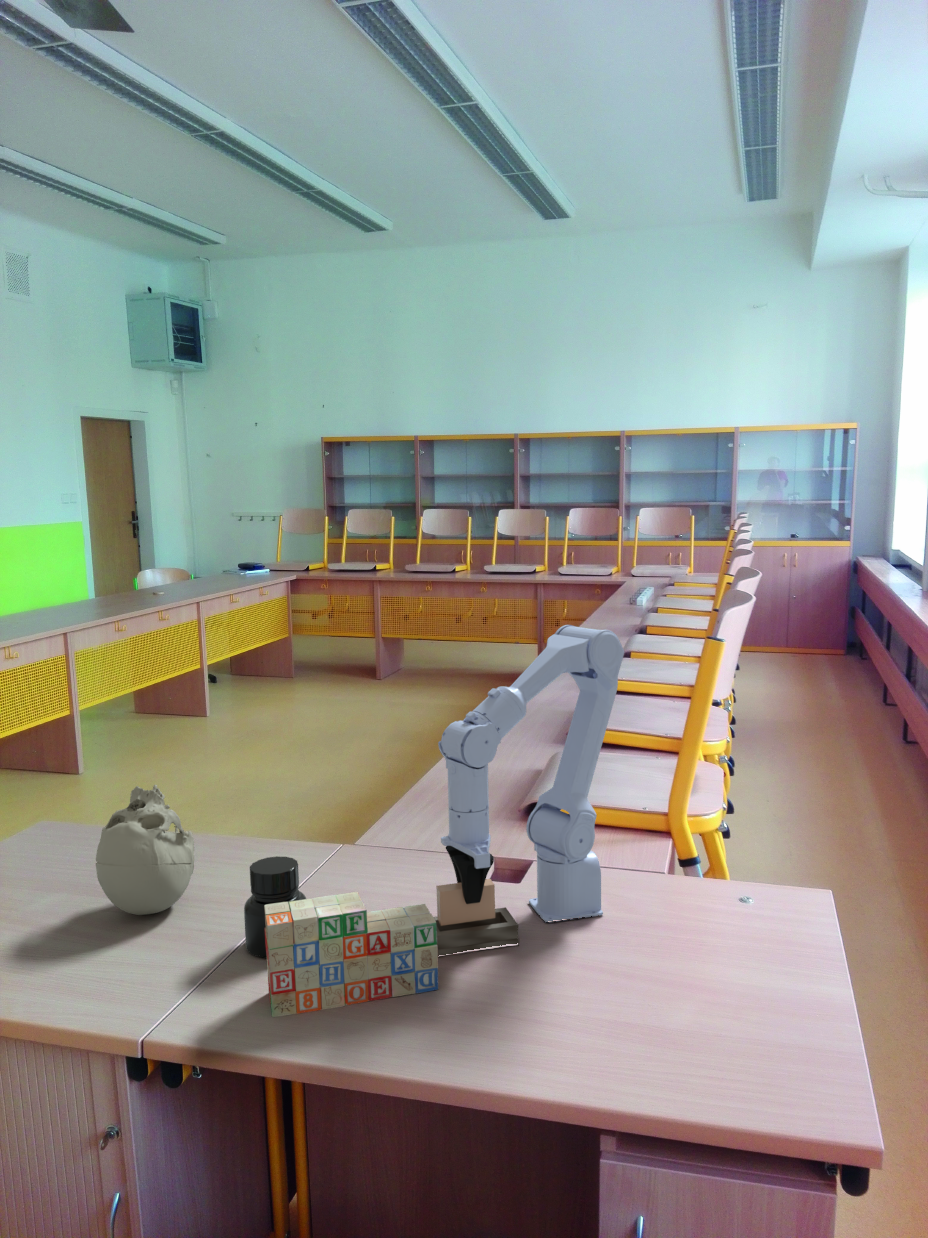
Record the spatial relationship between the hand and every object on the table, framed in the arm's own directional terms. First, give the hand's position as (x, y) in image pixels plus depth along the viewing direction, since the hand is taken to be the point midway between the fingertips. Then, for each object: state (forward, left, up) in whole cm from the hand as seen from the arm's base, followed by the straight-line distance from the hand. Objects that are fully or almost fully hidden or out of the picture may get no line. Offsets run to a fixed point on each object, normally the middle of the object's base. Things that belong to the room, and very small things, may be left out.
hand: (470, 898), depth 130 cm
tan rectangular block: (+1, 0, -3) cm, 3 cm away
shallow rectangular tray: (0, 0, -6) cm, 6 cm away
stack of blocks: (+18, +9, -7) cm, 21 cm away
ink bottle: (+27, -7, -7) cm, 29 cm away
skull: (+46, -24, -7) cm, 52 cm away
